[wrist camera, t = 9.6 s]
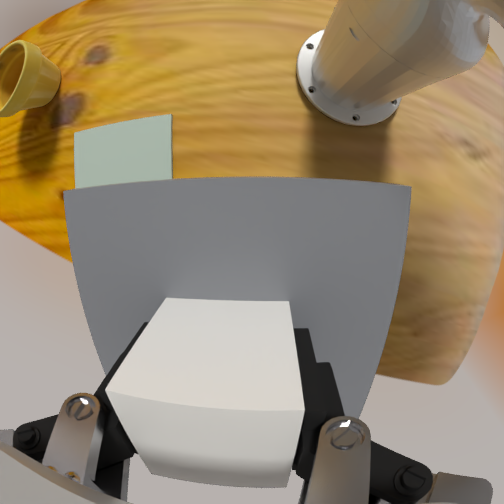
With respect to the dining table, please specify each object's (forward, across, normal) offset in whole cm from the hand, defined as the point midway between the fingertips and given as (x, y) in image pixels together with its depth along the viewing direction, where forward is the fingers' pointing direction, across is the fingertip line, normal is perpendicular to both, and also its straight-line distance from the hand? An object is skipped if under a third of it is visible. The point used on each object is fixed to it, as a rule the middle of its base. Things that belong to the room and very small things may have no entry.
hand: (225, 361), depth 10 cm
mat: (+22, +16, -6) cm, 28 cm away
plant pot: (+22, +30, -22) cm, 43 cm away
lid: (+2, 0, 0) cm, 2 cm away
